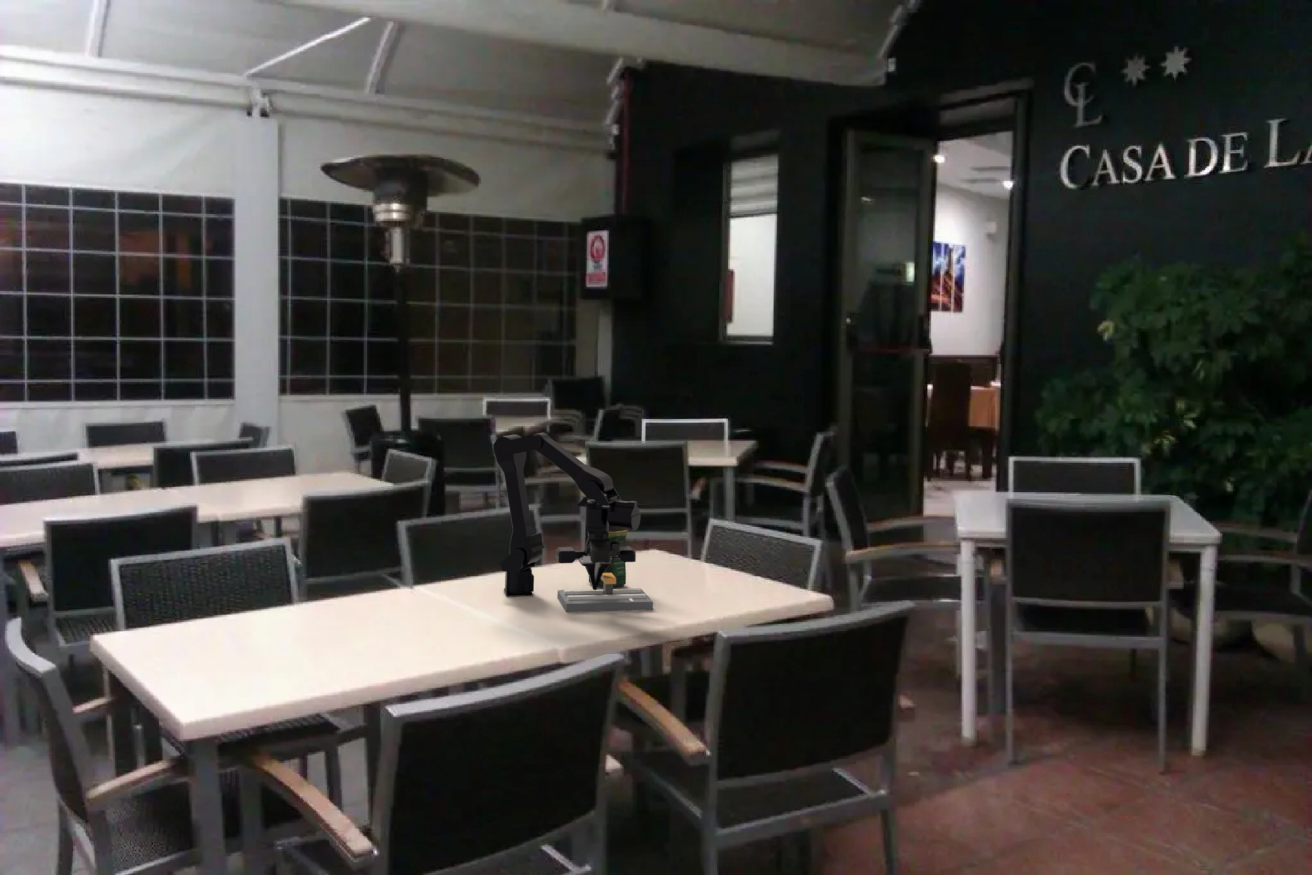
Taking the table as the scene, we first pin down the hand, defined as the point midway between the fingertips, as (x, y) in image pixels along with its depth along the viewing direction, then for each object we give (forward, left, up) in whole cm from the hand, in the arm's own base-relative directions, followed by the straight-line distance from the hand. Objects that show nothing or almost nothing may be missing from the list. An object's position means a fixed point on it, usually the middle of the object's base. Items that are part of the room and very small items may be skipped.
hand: (594, 589), depth 271 cm
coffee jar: (+7, +19, -4) cm, 21 cm away
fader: (+3, 0, -2) cm, 4 cm away
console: (+3, 0, -4) cm, 4 cm away
